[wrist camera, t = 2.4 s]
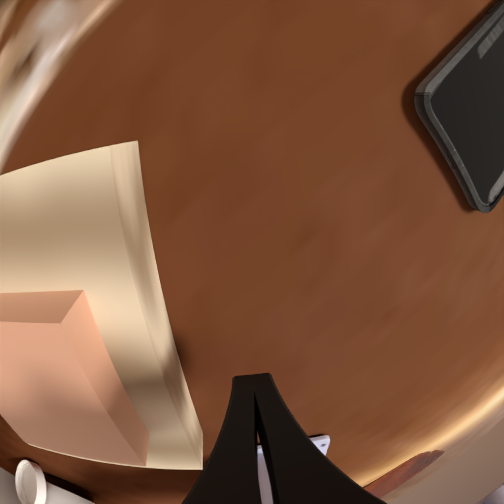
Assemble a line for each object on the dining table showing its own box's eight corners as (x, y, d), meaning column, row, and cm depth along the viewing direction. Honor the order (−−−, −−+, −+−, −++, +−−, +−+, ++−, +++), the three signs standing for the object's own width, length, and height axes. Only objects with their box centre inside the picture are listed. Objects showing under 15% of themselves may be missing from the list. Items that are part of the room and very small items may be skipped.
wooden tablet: (323, 519, 35) (325, 526, 34) (280, 521, 32) (281, 529, 31) (448, 446, 28) (452, 454, 26) (418, 446, 25) (423, 457, 23)
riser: (202, 433, 17) (202, 469, 15) (39, 417, 16) (28, 444, 14) (137, 140, 10) (109, 145, 7) (-61, 200, 9) (-94, 217, 6)
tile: (150, 435, 13) (145, 466, 11) (35, 418, 12) (25, 442, 10) (84, 289, 9) (60, 323, 7) (-39, 293, 9) (-62, 316, 7)
